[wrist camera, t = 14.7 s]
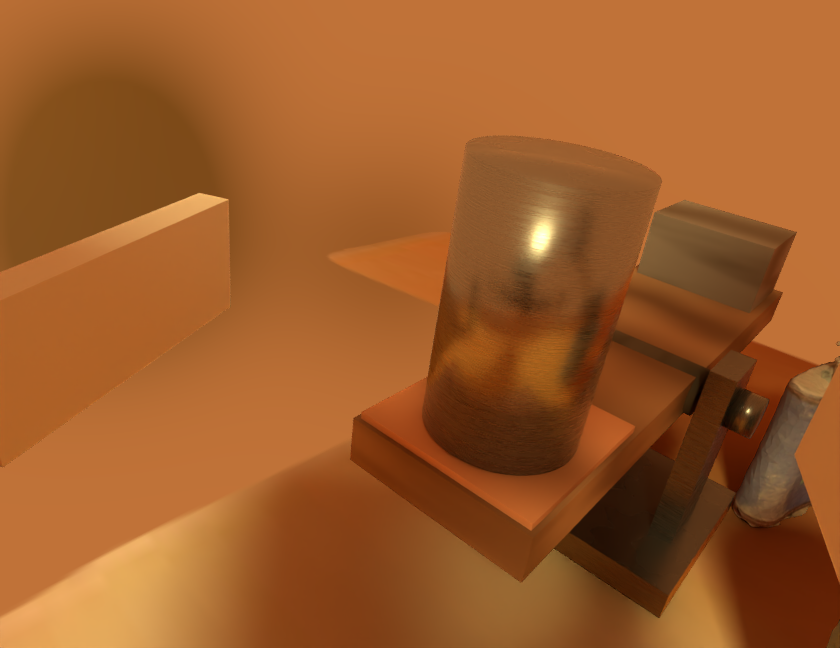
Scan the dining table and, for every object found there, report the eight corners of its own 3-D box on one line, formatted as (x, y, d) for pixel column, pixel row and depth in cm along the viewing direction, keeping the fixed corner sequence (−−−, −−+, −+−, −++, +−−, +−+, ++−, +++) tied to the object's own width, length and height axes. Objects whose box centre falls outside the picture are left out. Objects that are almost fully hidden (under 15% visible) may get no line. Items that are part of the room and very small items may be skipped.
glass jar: (544, 377, 28) (606, 144, 23) (606, 472, 23) (702, 198, 18) (408, 377, 26) (445, 129, 22) (442, 479, 21) (500, 182, 16)
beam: (650, 278, 46) (675, 195, 43) (774, 324, 42) (813, 234, 39) (344, 459, 25) (355, 321, 22) (527, 592, 21) (570, 439, 18)
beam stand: (523, 403, 44) (557, 255, 39) (727, 512, 37) (802, 347, 32) (430, 466, 37) (457, 296, 32) (659, 617, 30) (741, 427, 25)
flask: (757, 535, 36) (837, 371, 31) (714, 499, 38) (783, 341, 33) (854, 496, 40) (939, 346, 35) (811, 466, 42) (884, 321, 37)
